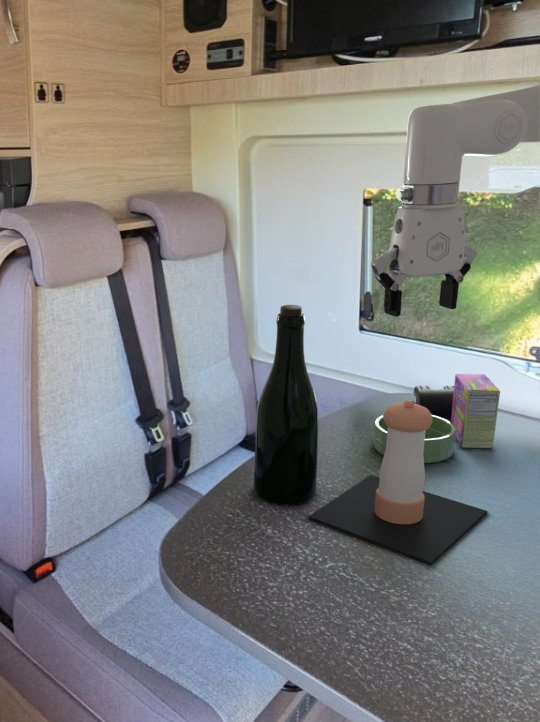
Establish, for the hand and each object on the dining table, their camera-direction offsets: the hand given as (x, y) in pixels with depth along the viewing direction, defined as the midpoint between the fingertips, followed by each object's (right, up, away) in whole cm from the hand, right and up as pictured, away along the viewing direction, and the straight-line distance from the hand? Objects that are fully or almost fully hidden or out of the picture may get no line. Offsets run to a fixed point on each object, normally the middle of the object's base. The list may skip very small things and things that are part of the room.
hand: (419, 311), depth 111 cm
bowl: (+10, -23, +28) cm, 38 cm away
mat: (-2, -32, +5) cm, 33 cm away
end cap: (+21, -18, +42) cm, 50 cm away
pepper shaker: (-2, -32, +5) cm, 32 cm away
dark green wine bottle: (-18, -30, +14) cm, 38 cm away
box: (+23, -21, +32) cm, 45 cm away
